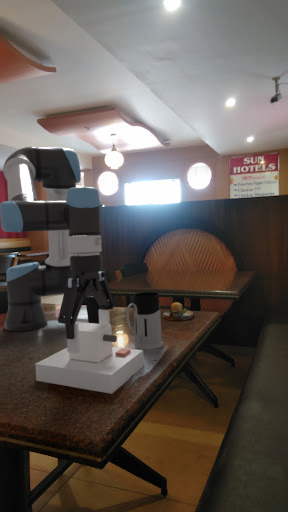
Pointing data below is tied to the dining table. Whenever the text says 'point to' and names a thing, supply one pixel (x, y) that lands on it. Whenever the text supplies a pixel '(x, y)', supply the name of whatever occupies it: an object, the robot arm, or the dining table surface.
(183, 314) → the burger
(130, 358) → the socket
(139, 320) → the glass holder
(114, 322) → the dining table surface
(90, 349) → the plug
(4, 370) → the dining table surface
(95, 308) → the drinking cup
